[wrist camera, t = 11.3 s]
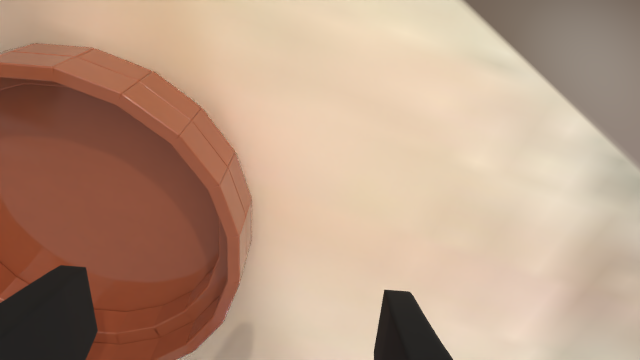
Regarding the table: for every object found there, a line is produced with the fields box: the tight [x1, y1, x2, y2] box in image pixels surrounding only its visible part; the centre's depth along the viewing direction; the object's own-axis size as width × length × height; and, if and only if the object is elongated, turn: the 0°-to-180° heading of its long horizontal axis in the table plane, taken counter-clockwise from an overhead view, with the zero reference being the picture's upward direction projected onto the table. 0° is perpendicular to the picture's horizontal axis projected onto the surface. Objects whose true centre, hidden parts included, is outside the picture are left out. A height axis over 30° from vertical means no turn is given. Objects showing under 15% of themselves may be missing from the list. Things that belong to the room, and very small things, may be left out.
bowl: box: [0, 43, 252, 360], centre depth 20 cm, size 14×14×4 cm
